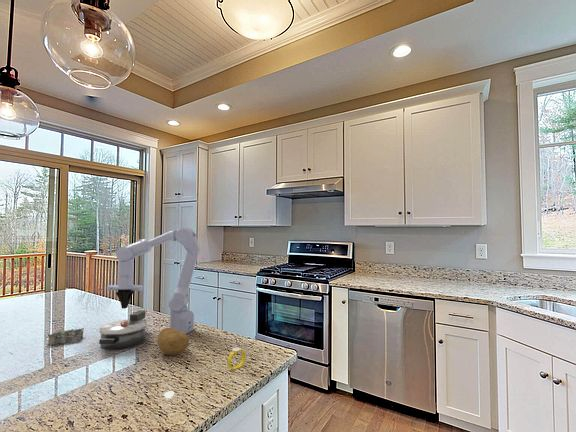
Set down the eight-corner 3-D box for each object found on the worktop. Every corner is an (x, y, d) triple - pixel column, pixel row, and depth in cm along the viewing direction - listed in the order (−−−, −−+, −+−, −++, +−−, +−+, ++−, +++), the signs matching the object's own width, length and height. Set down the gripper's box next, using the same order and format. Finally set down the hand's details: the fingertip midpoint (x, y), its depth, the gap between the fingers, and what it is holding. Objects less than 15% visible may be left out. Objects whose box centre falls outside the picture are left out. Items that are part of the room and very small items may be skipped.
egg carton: (45, 346, 110) (45, 335, 110) (53, 339, 117) (54, 328, 117) (79, 342, 113) (79, 331, 114) (85, 336, 121) (85, 325, 121)
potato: (169, 364, 95) (169, 339, 95) (150, 352, 104) (151, 329, 105) (196, 355, 102) (196, 331, 103) (176, 344, 112) (177, 323, 112)
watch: (231, 373, 90) (230, 354, 90) (226, 370, 92) (225, 351, 92) (247, 365, 94) (246, 347, 94) (241, 362, 96) (241, 344, 96)
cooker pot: (126, 354, 103) (127, 339, 103) (84, 353, 103) (85, 338, 103) (159, 330, 127) (159, 318, 127) (124, 330, 127) (125, 318, 127)
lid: (134, 335, 106) (134, 327, 106) (89, 335, 106) (89, 327, 106) (160, 317, 128) (160, 310, 128) (123, 317, 128) (123, 310, 128)
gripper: (147, 274, 128) (146, 305, 128) (114, 273, 129) (113, 305, 128) (138, 276, 121) (137, 310, 121) (104, 276, 122) (103, 309, 121)
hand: (124, 307), depth 124 cm, fingers closed
